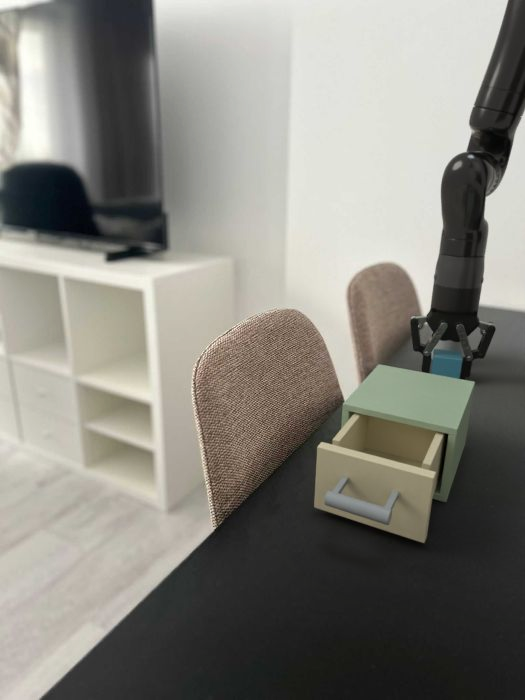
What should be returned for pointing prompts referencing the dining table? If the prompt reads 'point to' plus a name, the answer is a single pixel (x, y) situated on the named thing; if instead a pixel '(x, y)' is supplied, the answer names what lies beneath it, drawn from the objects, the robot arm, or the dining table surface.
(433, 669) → the dining table surface
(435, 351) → the small sky-blue cube
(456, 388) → the cabinet
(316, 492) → the drawer
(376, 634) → the dining table surface
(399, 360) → the dining table surface
